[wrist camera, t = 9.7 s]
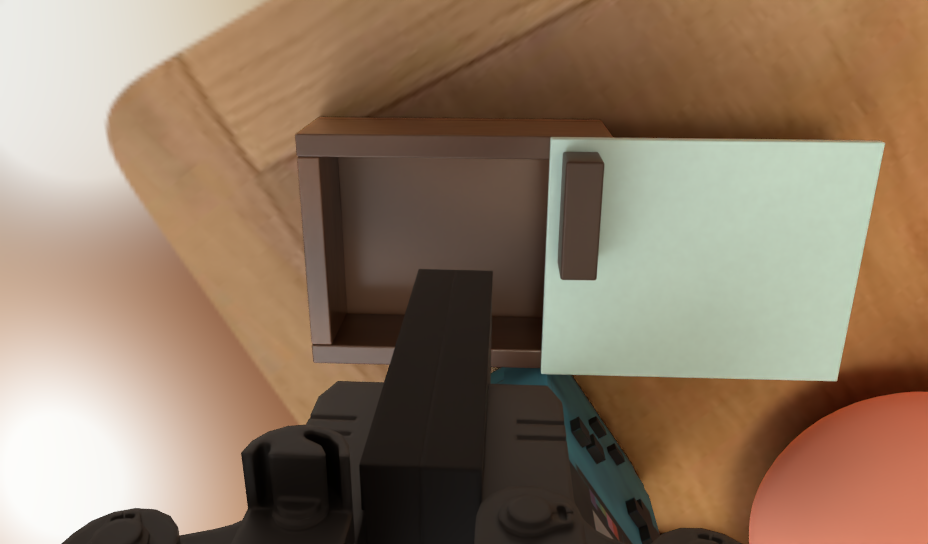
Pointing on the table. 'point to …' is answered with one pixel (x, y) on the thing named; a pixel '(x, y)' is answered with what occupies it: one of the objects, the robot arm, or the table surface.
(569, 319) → the pale green cover
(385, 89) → the table surface
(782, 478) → the sugar bowl
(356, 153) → the case
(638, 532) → the handheld gaming console
